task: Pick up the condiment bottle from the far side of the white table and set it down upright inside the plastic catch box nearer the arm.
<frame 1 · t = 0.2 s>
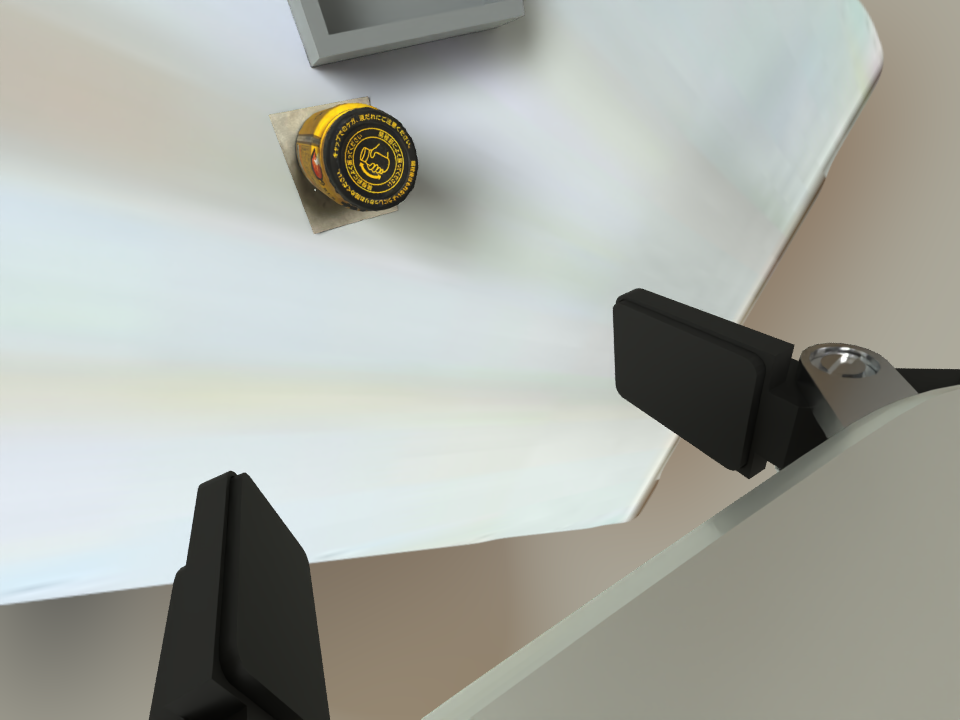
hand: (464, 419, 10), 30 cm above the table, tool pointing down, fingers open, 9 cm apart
condiment: (339, 167, 33), on the table
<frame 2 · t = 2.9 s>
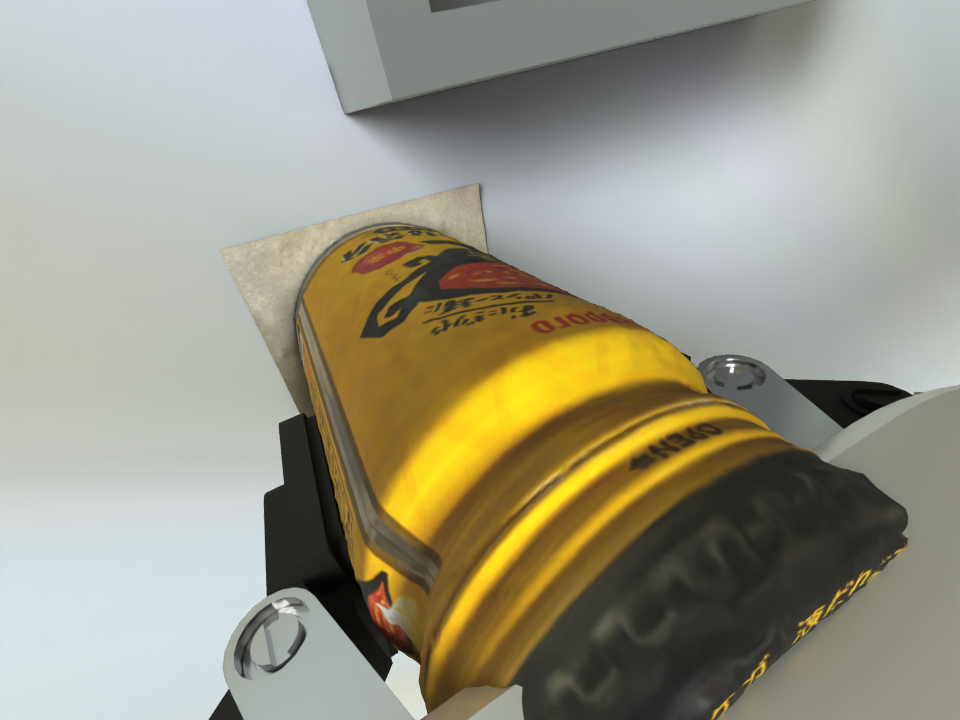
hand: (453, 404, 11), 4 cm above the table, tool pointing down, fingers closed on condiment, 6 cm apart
condiment: (397, 340, 14), on the table, touching gripper
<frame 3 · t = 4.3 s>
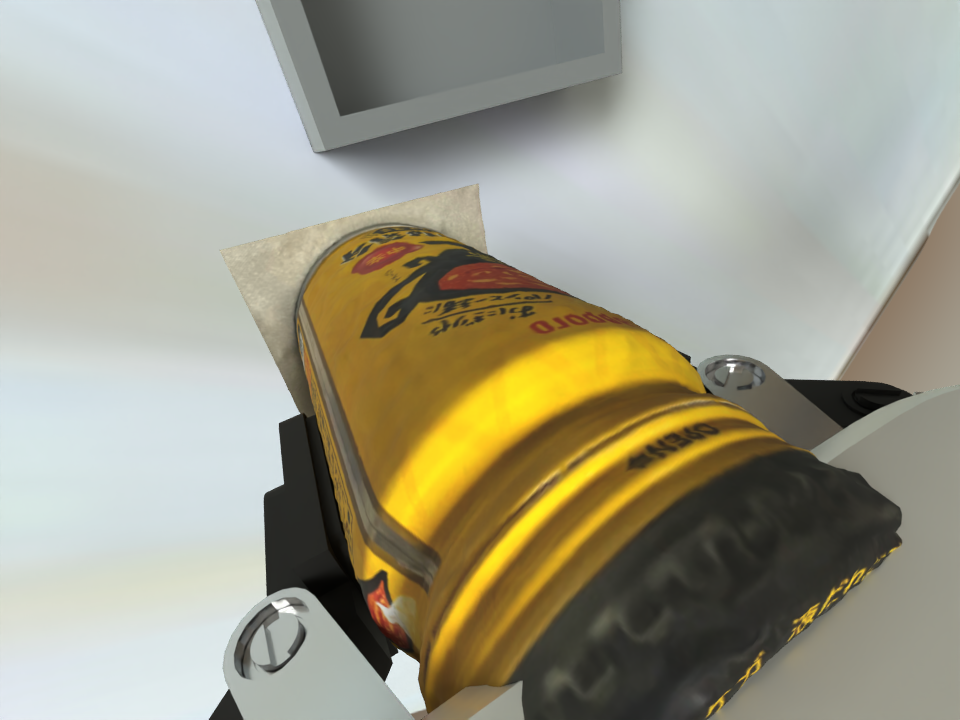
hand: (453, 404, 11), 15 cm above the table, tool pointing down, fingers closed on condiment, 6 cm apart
condiment: (397, 340, 14), point 11 cm above the table, touching gripper
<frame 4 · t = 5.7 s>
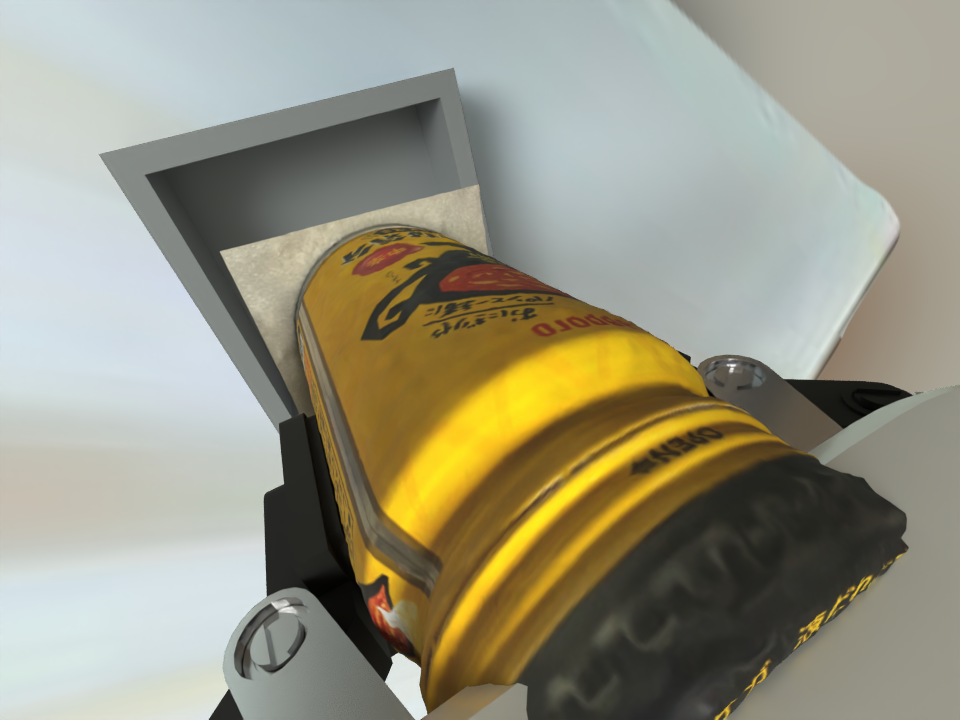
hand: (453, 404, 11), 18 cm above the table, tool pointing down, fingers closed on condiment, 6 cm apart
catch box: (346, 254, 25), on the table
condiment: (397, 341, 14), point 14 cm above the table, touching gripper
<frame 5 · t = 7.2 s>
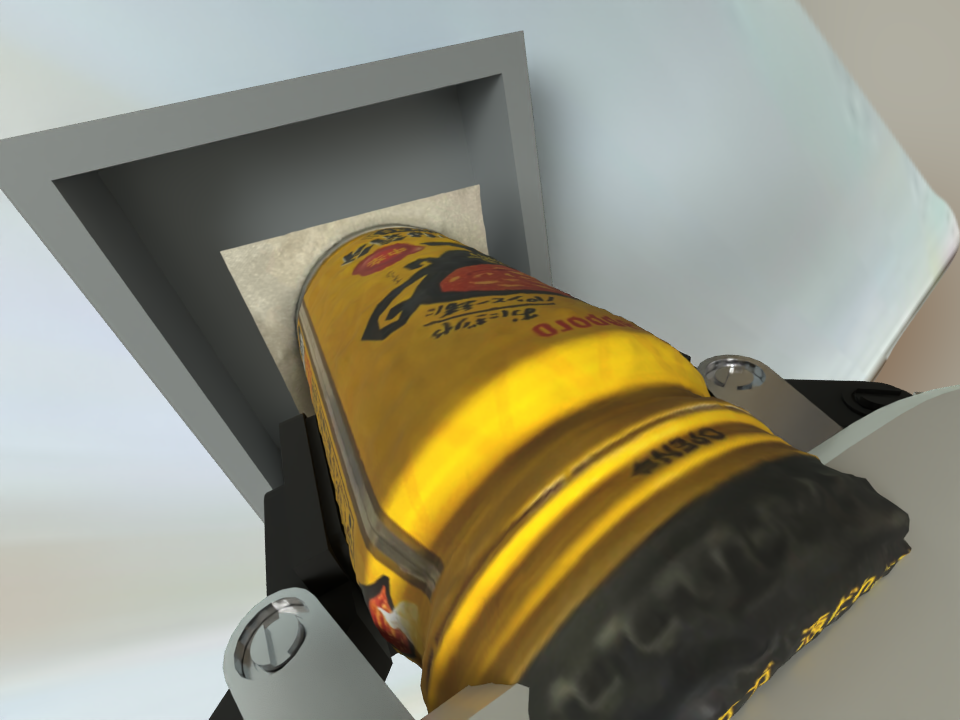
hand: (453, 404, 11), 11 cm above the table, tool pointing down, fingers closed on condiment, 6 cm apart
catch box: (357, 282, 19), on the table
condiment: (397, 341, 14), point 7 cm above the table, touching gripper
when the fingers open (6 cm above the table, at t = 8.6 s): condiment drops 1 cm, resting on catch box.
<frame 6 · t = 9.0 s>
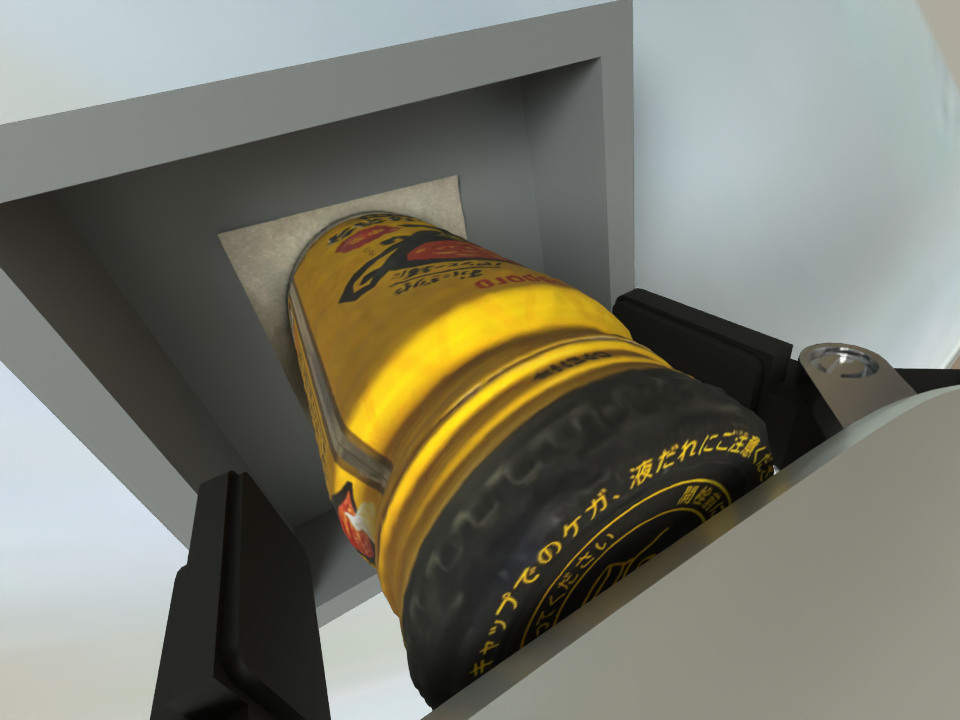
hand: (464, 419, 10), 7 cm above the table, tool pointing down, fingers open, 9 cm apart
catch box: (389, 322, 16), on the table
condiment: (383, 322, 15), resting on catch box
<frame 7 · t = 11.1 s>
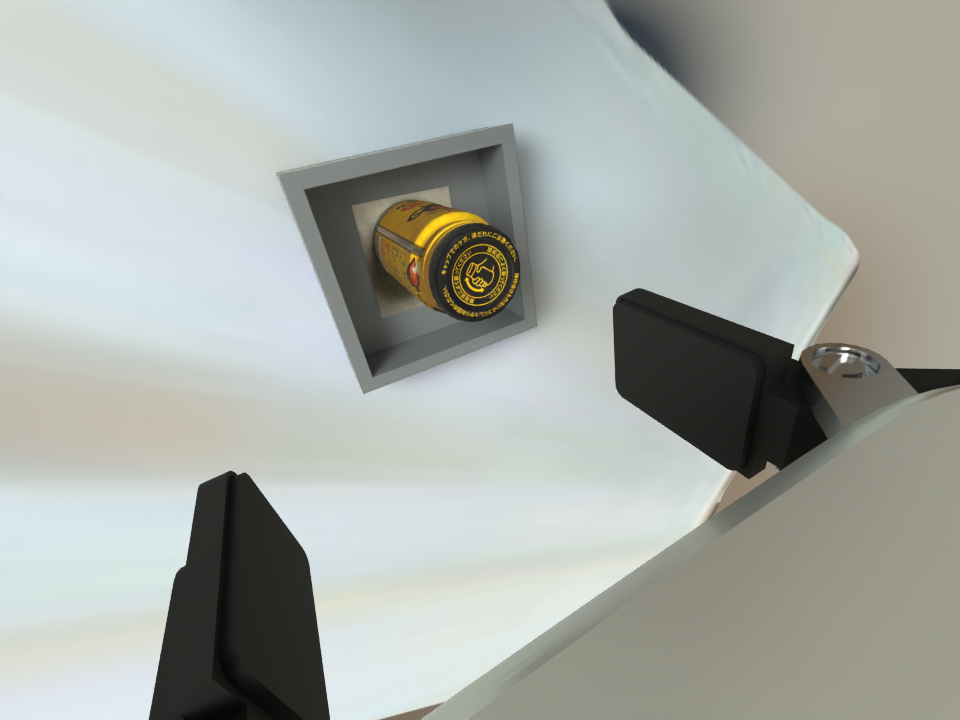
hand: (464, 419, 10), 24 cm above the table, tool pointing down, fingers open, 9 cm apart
catch box: (414, 254, 33), on the table
condiment: (412, 252, 32), resting on catch box
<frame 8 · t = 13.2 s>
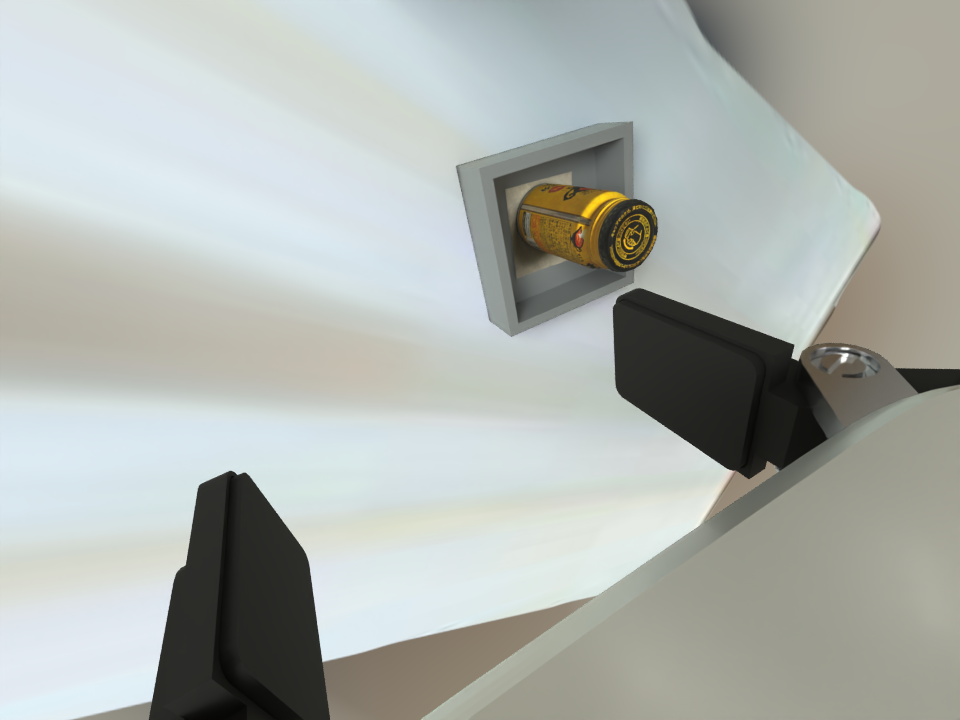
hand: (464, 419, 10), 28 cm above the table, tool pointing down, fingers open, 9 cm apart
catch box: (541, 226, 41), on the table
condiment: (540, 225, 41), resting on catch box
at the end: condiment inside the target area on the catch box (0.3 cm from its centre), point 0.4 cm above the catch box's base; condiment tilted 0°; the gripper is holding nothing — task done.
